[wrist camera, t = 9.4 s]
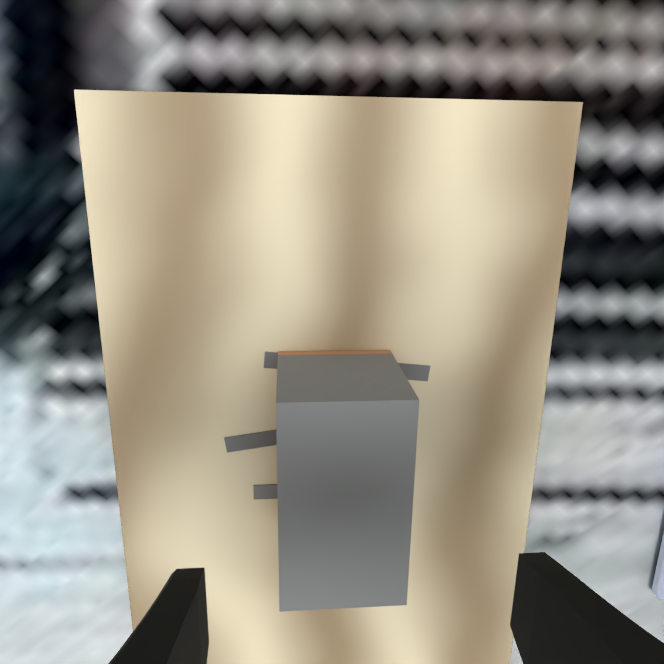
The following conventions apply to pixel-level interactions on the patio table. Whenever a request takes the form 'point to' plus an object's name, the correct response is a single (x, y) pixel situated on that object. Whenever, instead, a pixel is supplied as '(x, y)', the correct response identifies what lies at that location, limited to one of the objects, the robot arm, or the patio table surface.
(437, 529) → the board
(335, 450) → the block
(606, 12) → the patio table surface
